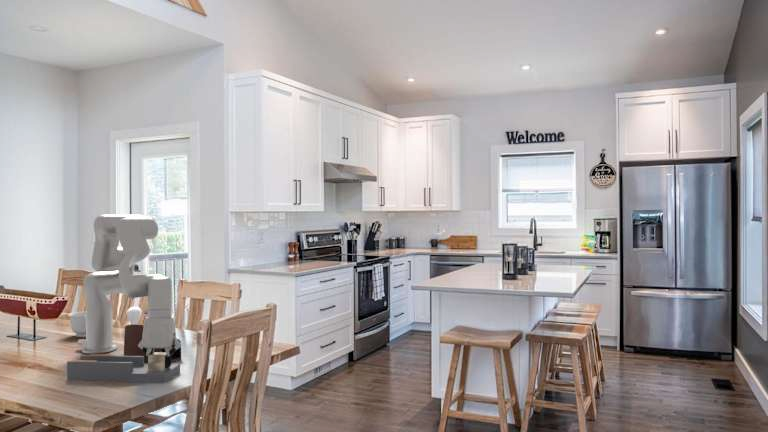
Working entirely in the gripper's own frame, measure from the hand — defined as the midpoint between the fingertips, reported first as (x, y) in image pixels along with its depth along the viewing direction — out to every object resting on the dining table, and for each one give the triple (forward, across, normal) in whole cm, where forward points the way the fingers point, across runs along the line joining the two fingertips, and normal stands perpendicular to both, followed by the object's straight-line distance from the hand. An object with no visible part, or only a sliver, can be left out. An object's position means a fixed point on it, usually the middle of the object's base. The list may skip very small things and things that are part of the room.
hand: (159, 366), depth 187 cm
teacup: (+4, -62, +58) cm, 85 cm away
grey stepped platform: (+4, -12, 0) cm, 13 cm away
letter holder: (+4, -13, +22) cm, 25 cm away
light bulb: (+4, -46, +72) cm, 85 cm away
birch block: (+1, 0, -1) cm, 1 cm away
